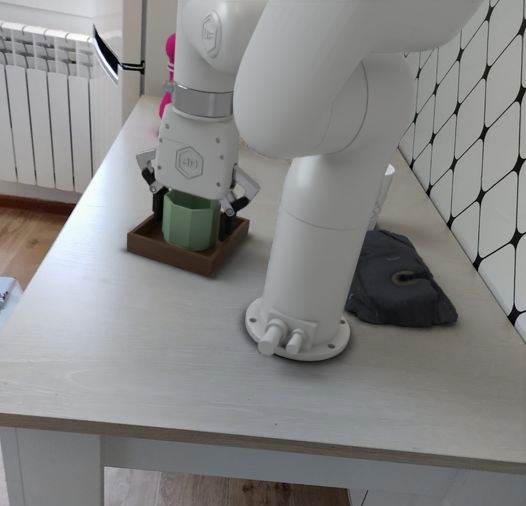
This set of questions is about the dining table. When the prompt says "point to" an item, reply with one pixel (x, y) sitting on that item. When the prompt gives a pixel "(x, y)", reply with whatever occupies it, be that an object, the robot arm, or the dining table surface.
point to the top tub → (190, 220)
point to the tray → (201, 262)
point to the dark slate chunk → (396, 284)
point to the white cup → (381, 196)
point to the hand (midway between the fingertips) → (192, 227)
